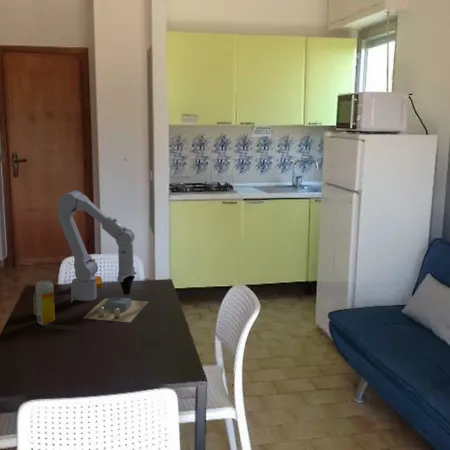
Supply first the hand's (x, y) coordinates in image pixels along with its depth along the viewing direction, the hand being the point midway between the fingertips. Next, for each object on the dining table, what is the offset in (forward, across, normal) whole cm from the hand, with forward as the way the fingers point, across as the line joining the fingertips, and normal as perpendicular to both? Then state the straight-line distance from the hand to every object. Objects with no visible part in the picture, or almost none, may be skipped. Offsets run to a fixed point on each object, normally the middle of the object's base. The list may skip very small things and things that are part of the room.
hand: (126, 294), depth 224 cm
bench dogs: (+2, -19, 0) cm, 19 cm away
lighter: (+4, -18, +26) cm, 32 cm away
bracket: (+4, +17, +21) cm, 27 cm away
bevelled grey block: (+2, -9, 0) cm, 9 cm away
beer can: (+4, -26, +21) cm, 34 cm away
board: (+4, -11, 0) cm, 12 cm away
